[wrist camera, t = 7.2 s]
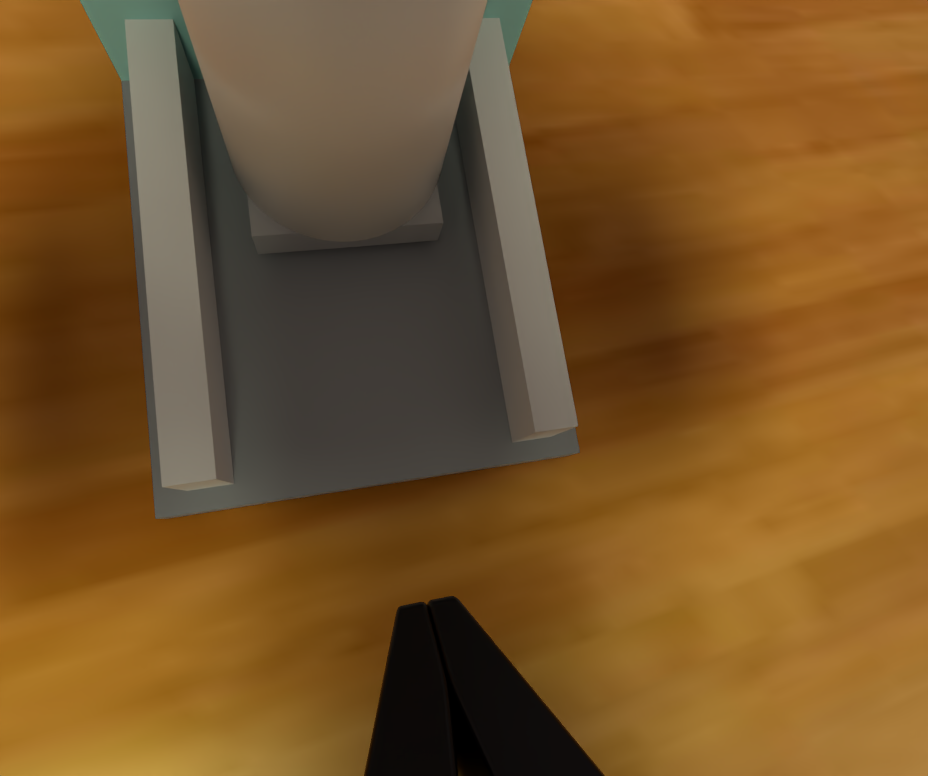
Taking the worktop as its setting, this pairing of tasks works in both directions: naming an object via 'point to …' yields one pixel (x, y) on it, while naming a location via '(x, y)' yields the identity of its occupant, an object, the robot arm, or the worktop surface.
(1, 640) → the worktop surface
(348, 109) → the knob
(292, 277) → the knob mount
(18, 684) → the worktop surface
